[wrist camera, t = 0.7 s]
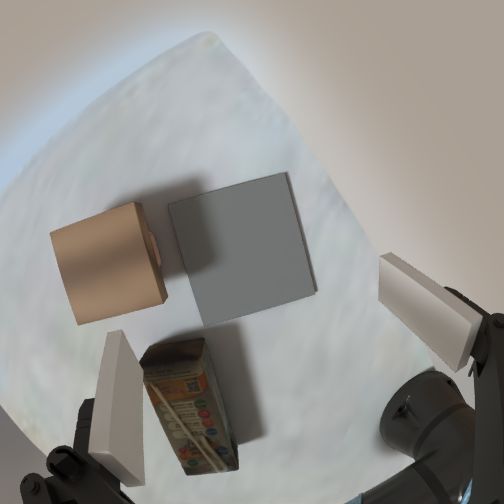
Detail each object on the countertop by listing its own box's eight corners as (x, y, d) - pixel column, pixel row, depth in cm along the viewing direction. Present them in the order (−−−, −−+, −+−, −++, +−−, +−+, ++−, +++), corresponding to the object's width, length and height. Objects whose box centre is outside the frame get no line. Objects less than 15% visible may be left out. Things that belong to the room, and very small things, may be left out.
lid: (168, 296, 31) (163, 303, 29) (88, 317, 31) (78, 325, 28) (141, 203, 30) (133, 201, 27) (62, 231, 30) (49, 232, 27)
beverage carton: (187, 452, 39) (184, 481, 32) (145, 343, 37) (132, 365, 30) (238, 445, 40) (241, 474, 33) (204, 332, 37) (201, 354, 31)
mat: (314, 293, 38) (315, 294, 37) (204, 324, 37) (204, 326, 36) (283, 173, 36) (284, 172, 36) (168, 204, 35) (167, 204, 35)
